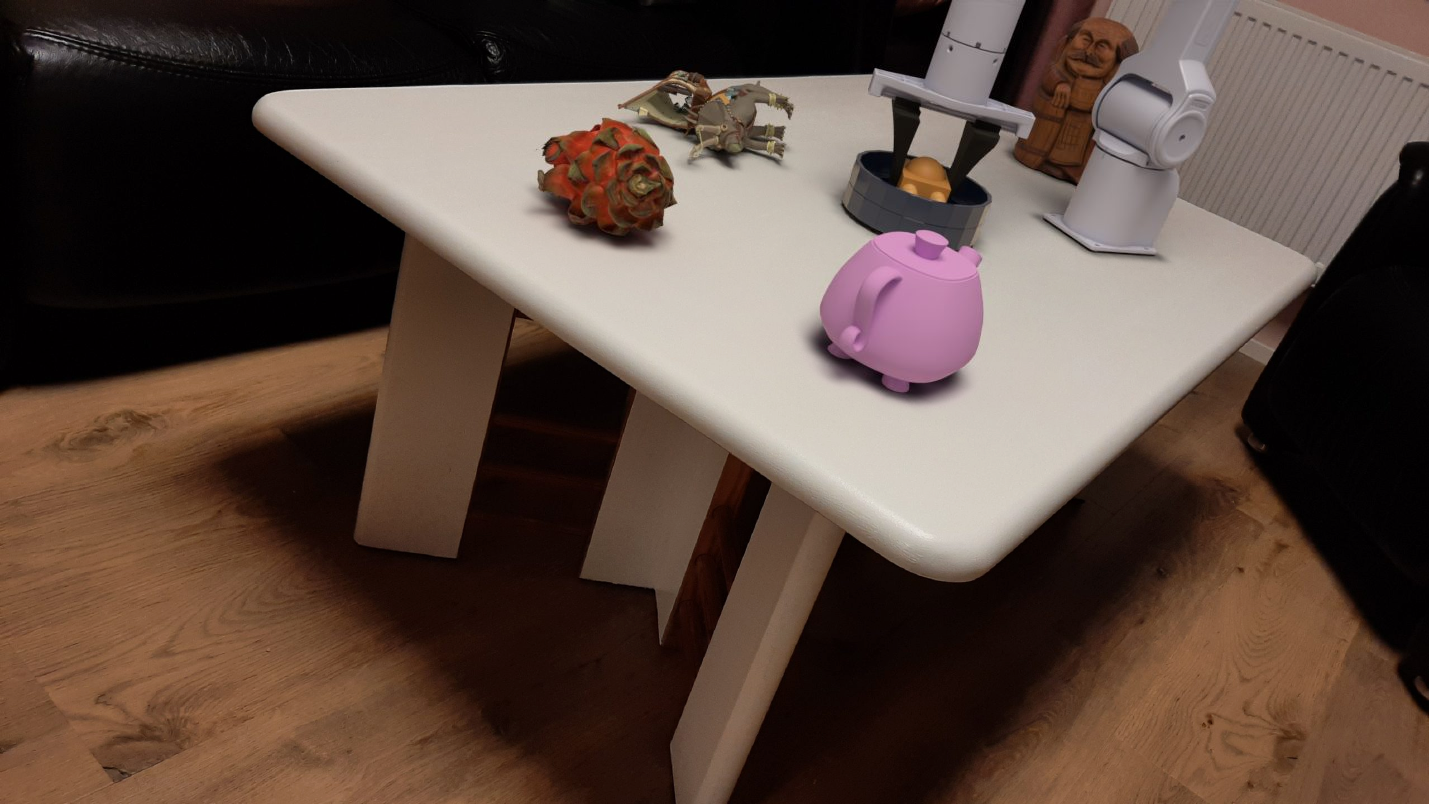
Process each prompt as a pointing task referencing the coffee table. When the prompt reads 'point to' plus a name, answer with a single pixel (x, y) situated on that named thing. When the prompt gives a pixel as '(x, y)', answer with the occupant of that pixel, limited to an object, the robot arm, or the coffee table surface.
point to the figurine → (713, 112)
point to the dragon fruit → (609, 177)
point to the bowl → (913, 203)
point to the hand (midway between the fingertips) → (918, 191)
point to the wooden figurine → (1073, 97)
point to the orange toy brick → (925, 179)
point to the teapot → (906, 308)
